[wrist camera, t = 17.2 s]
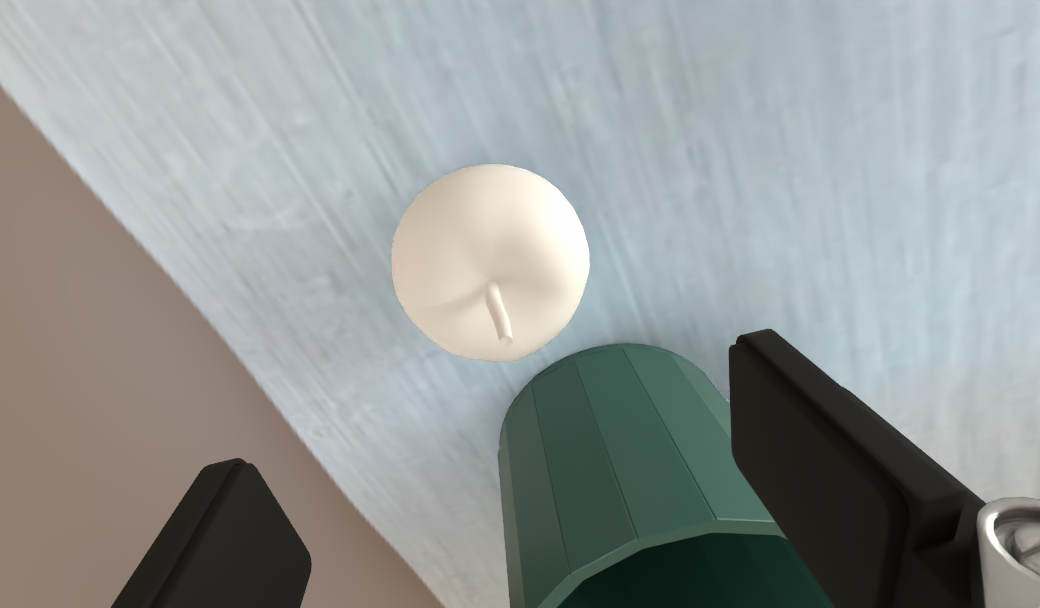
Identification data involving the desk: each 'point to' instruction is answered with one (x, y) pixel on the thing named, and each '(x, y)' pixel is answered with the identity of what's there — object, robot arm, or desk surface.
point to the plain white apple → (490, 262)
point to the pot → (636, 493)
